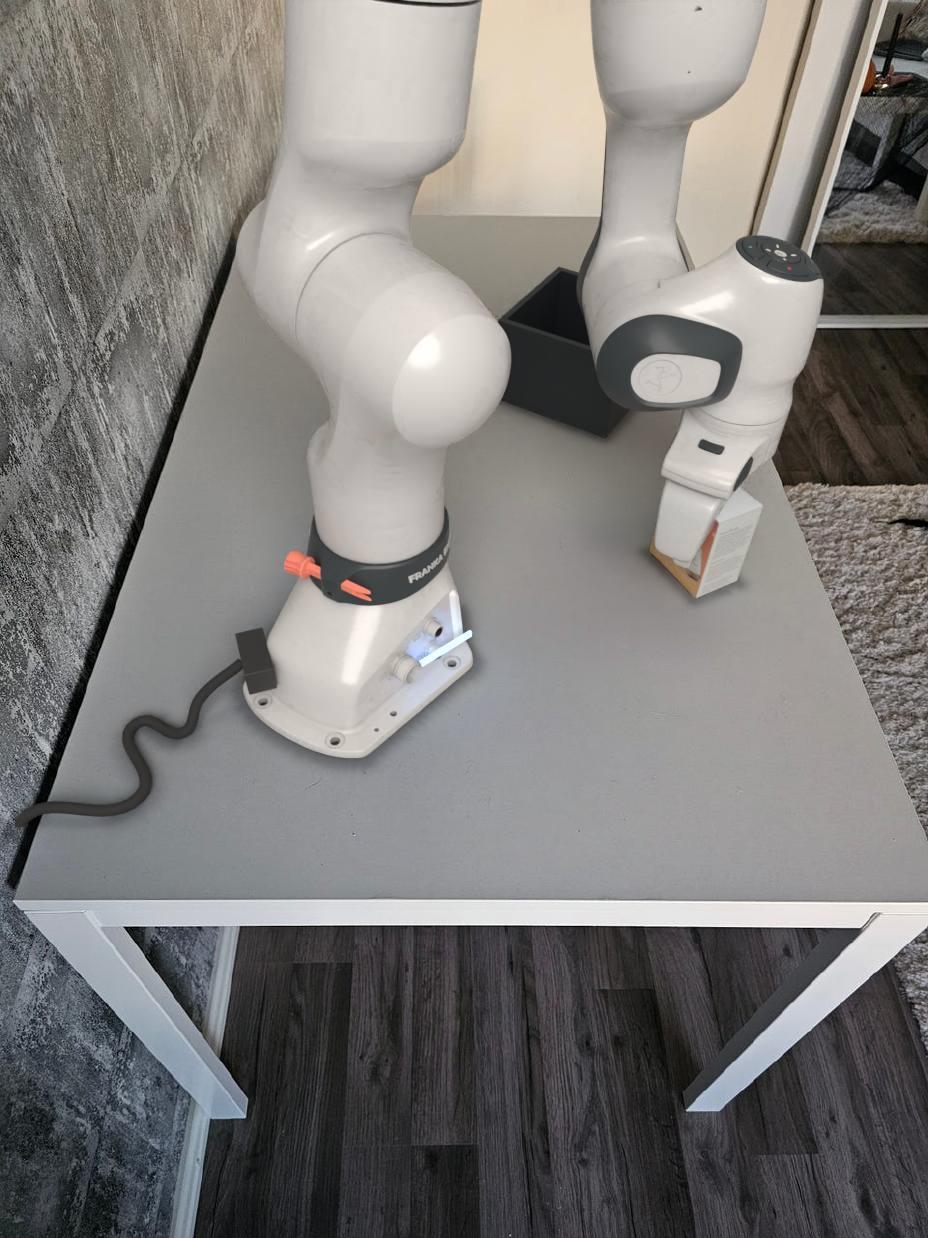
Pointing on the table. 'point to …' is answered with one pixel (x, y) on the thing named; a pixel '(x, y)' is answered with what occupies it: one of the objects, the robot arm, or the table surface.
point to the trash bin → (556, 358)
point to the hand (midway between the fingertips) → (699, 536)
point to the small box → (719, 547)
